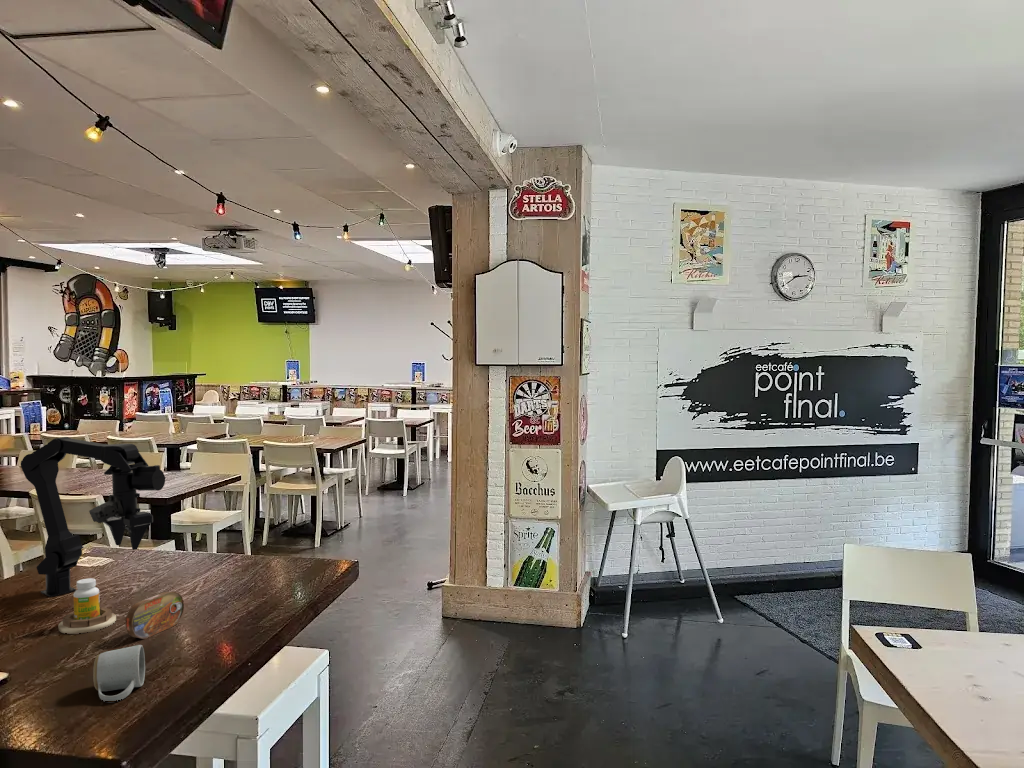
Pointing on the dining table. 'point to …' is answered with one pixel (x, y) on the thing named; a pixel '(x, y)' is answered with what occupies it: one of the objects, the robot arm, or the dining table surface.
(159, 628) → the tin
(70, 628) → the collar stand
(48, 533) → the robot arm
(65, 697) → the dining table surface
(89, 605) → the supplement bottle
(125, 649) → the ceramic mug
